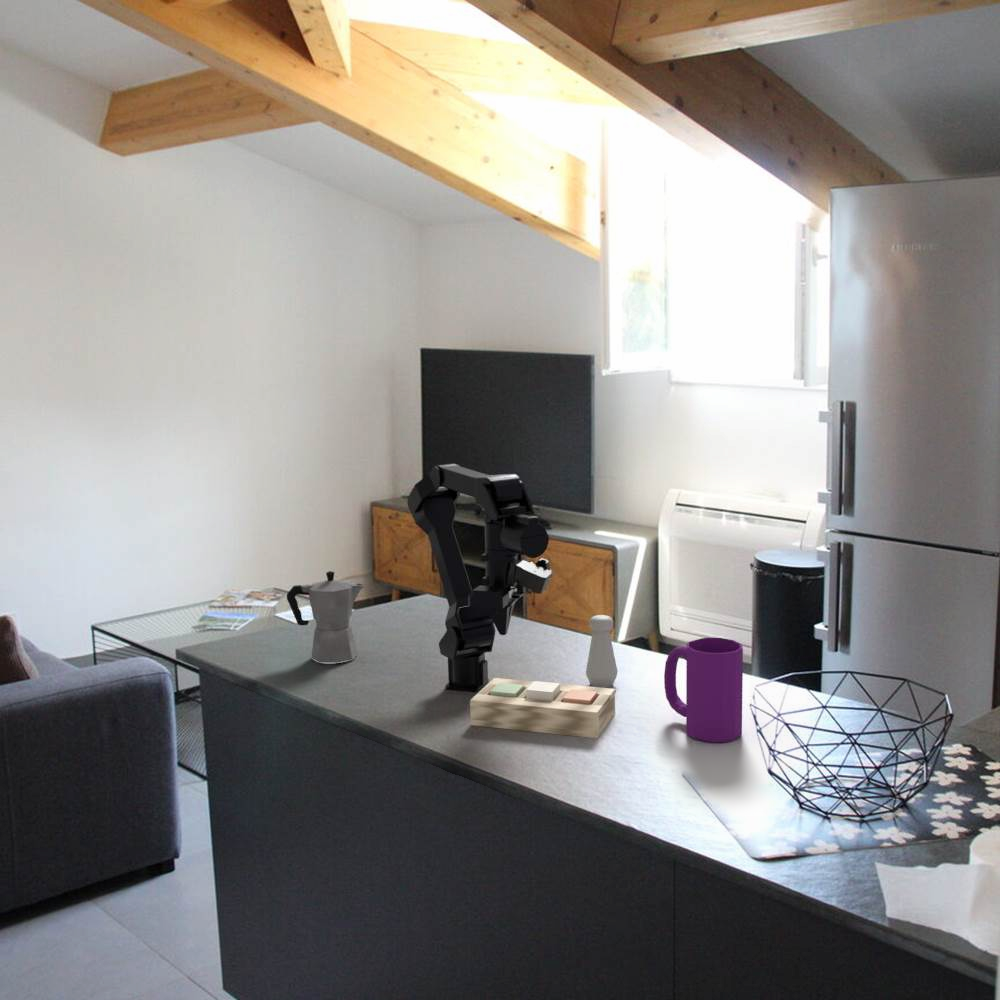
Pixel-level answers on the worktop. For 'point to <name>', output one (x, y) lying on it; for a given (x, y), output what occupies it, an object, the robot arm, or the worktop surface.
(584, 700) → the terracotta key
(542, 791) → the worktop surface
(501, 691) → the sage key
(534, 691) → the middle key
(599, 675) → the salt shaker
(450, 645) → the robot arm
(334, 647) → the coffeepot
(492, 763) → the worktop surface
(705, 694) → the mug
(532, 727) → the keypad
